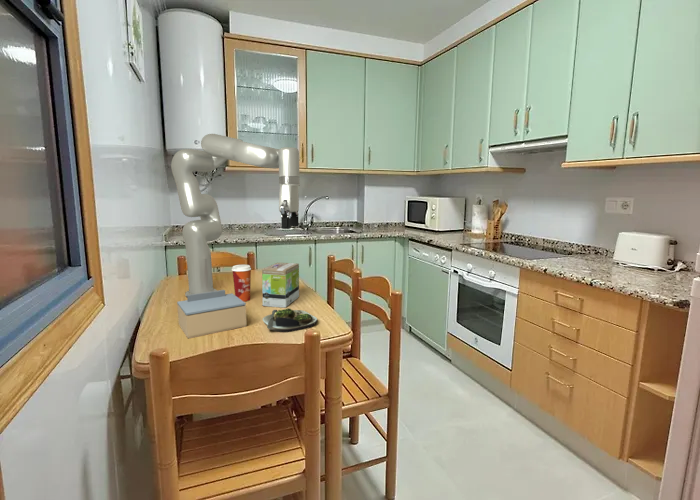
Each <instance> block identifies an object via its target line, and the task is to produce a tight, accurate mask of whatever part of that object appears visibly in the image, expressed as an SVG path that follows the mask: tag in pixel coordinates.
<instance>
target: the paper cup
mask: <svg viewBox="0 0 700 500" xmlns="http://www.w3.org/2000/svg"><path fill="white" fill-rule="evenodd" d="M231 271H232V279H233V286H234V287H233V288H234V295H235V296H237V297H238V298H239V299H241V300H242V301H243V302H245V303H246V302H249V301H251V279H252V278H251V275H252V268H251V265H249V264H236V265H233V266H232V268H231Z"/></svg>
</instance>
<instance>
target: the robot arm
mask: <svg viewBox="0 0 700 500" xmlns="http://www.w3.org/2000/svg"><path fill="white" fill-rule="evenodd" d="M200 145H201V149H202V150H199V149H192V148H183V149H179V150H178V151H177V152H175V154H174V155H173V156H172V159H171V163H170V165H171V166H170V167H171V173H172V176H173V180H174V181H175V184H176V190H177V191H176V192H177V195H178V200H179V205H180V209H181V213H183V215H185V216H186V217H187V218H197V217H198V218H200V219H195V220H190V221H188V222H186V223H185V224H184V225H183V227H182V232H181V234H182V239H183V242H184V246H185V253H186V264H187V278H188V280H187V281H188V290H186V292H185V295H184V296H185V297H186V298H187V295H191V294H198V293H205V292H211V291H218V290H217V289H216V288H214V284H213V281H214V280H213V267H212V265H213V264H212V253H211V252H212V251H211V248H210V246H209V244H208V242H213V241H215V240H218V239H219V238H220V237H221V235H222V231H223V226H222V220H221V217H220V211H219V207H218V202H217V201H216V199H215V198H214V197H213V196H212V195H210V194H208V193H202V192H201V189H200V184H199V181H198V179H197V177H196V176H195V175H194V174H193V173H194V172H200V173H201V172H202V173H203V172H204V173H208V172H212V171H214V170H216V169H217V168H219V167H220V166H221V165H222V164H224V163H225V162H227V161H229V160H230V161H233V162H236V163H243V164H246V165H250V166H255V167H258V168H265V169H266V168H267V169H273V170H276V169H278V181H279V182H278V185H279V194H278V199H279V200H278V211H279V212H280V214H281V215H280V219H281V229H282V230H290V229H291V227H299V226H300V225H299V224H300V223H299V222H300V221H299V210H300V199H299V186H300V185H301V184H300V183H301V181H300V152H299V149H298V148H297V147H292V146H291V147H289V146H288V147H287V146H286V147H285V146H284V147H281V148H274V147H270V146H265V145H260V144H255V143H251V142H246V141H243V140H242V139H239V138H236V137H235V138H234V137H231V136H226V135H222V134H218V133H217V134H216V133H209V134H208V133H207V134H206V135H204V136H203V137H202V138H201V140H200Z"/></svg>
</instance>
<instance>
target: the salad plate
mask: <svg viewBox="0 0 700 500" xmlns="http://www.w3.org/2000/svg"><path fill="white" fill-rule="evenodd" d="M262 321H263V323H264V324H265V325H266V327H267V329H269V330H271V331H273V332H277V333H292V332H296V331H302V330H306V329H309V328H312V327H315V325H316V324H317V323H318V318H317V317H316V316H314V315H312V314H310V313H309V312H308V311H306V310H300V309H291V308H289V307H286V308H285V309H282V308H279V309H278V310H277V309H273V310H272V311H271V314H268V315H266V316H264V317H263V318H262Z"/></svg>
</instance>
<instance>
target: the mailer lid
mask: <svg viewBox="0 0 700 500" xmlns="http://www.w3.org/2000/svg"><path fill="white" fill-rule="evenodd" d="M177 304H178V305H179V306H180V308H181V309H182V310H183V312H184V313H185V314H186V315H190V314H196V313H202V312H208V311H213V310H219V309H225V308H231V307H236V306H242V305H245V306H246V304H247V303H246V302H243V301H242V300H241V299H239V298H238V297H237V296H235V293H233V292H231V293H226V290H225V289H220V290H217V291H211V292H205V293H198V294H191V295H187V297H186V299H185V300H180V301H179V300H178V301H176V305H177Z"/></svg>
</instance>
